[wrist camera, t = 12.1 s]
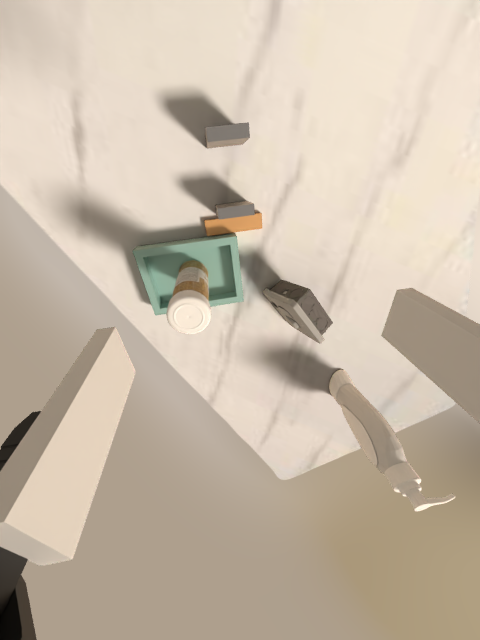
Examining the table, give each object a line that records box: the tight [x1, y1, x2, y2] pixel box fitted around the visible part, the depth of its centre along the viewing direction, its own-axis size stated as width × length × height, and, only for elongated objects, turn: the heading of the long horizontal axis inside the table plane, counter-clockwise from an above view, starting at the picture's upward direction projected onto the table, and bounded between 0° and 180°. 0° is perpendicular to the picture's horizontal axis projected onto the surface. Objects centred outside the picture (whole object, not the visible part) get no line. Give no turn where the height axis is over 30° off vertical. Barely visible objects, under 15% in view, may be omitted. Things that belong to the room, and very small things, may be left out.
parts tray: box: [133, 233, 244, 315], centre depth 34 cm, size 10×14×2 cm
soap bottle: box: [329, 370, 455, 511], centre depth 44 cm, size 13×8×24 cm, turn 14°
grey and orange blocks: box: [204, 123, 262, 236], centre depth 28 cm, size 11×8×5 cm
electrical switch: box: [263, 280, 333, 343], centre depth 36 cm, size 9×5×9 cm, turn 39°
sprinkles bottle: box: [167, 260, 211, 334], centre depth 29 cm, size 5×5×14 cm
